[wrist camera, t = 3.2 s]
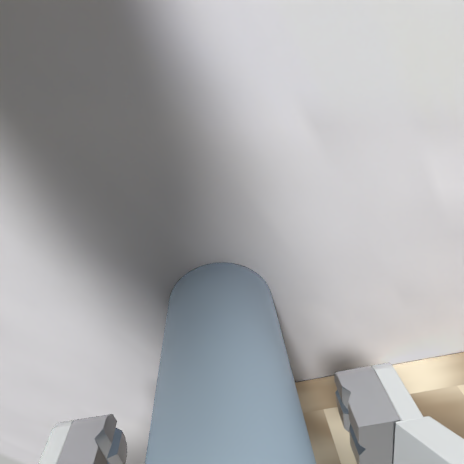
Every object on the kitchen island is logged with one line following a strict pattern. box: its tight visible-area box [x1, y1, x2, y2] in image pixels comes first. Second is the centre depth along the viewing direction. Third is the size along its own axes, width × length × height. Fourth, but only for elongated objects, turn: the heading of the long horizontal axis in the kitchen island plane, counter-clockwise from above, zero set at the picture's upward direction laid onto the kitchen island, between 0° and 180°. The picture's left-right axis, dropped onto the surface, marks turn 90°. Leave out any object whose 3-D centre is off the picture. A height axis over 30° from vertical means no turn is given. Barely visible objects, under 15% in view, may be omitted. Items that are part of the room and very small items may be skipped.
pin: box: [145, 263, 316, 464], centre depth 9 cm, size 4×4×10 cm
